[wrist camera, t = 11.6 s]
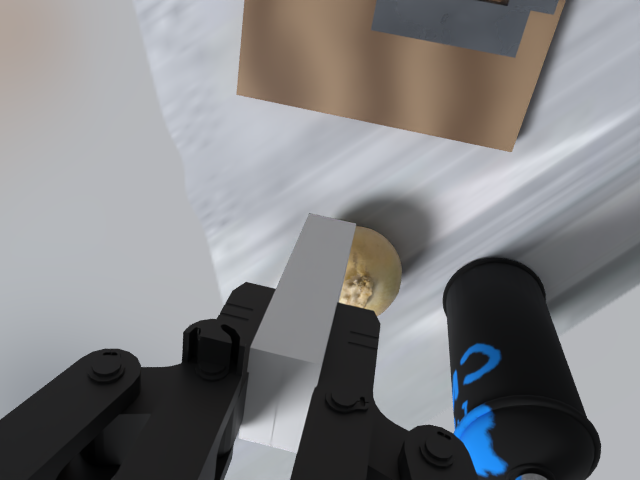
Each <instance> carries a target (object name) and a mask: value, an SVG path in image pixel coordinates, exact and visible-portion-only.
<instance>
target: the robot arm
mask: <svg viewBox="0 0 640 480" xmlns="http://www.w3.org/2000/svg"><path fill="white" fill-rule="evenodd" d="M355 228H356V223H351V222H347V221H342V220H338V219H333V218H329V217H324V216H320V215H315V214H311V213H309V215H308V218H307V220H306V222H305V224H304V227H303V229H302V231H301V233H300V236H299V238H298V240H297V242H296V245H295V247H294V249H293V252H292V254H291V256H290V258H289V261H288V263H287V265H286V267H285V270H284V272H283V274H282V276H281V279H280V281H279V283H278V286H277V288H276V289H274V288H269V287H265V286H261V285H257V284H252V283H248V282H245V283H244V284H242V285H241V286H239V287H238V288H236V289H235V290H233V291H232V293H231V295H230V296H229V298H228V300H227V302H226V304H225V305H224V307H223V309H222V310H221V313H220V315H219V316H218V318H217V319H208V320H201V321H199V322H196V323H194V324H192V325H190V326H189V327H188V328H187V329H186V330H185V331H184V332H183V354H182V363H181V364H178V365H174V366H169V367H141V365H140V363H139V361H138V358H137V357H135V356H134V355H133V354H131V353H130V352H127V351H124V350H120V349H102V350H98V351H94V352H92V353H90V354H88V355H86V356H84V357H82V358H81V359H79V360H78V361H77V362H75V363H74V364H73V365H72V366H70V367H69V368H68V369H66V370H65V371H64V372H62V373H61V374H60V375H58V376H57V377H56V378H54V379H53V380H52V381H51V382H49V383H48V384H47V385H45V386H44V387H43V388H41V389H40V390H39V391H37V392H36V393H35V394H33V395H32V396H31V397H30V398H28V399H27V400H26V401H24V402H23V403H22V404H20V405H19V406H18V407H16V408H15V409H14V410H13V411H11V412H10V413H8V414H7V415H6V416H5V417H3V418H2V419H1V420H0V480H224V478H225V475H226V473H227V470H228V467H229V465H230V462H231V459H232V453H233V445H234V441H235V439H236V436H237V433H238V431H239V428H240V432H239V438H240V439H244V440H248V441H252V442H255V443H259V444H263V445H267V446H271V447H275V448H279V449H283V450H287V451H291V452H294V453H297V455H296V459H295V463H294V467H293V471H292V475H291V479H290V480H479V478H478V476H477V473H476V470H475V467H474V465H473V462H472V459H471V456H470V454H469V452H468V450H467V448H466V447H465V445H464V443H463V442H462V441H461V440H460V439H459V438H458V437H456V436H455V435H454V434H453V433H451V432H449V431H447V430H445V429H443V428H442V427H437V426H433V425H422V426H417V427H415V428H414V429H412V430H410V431H408V430H406V429H404V428H402V427H400V426H398V425H396V424H395V423H393V422H392V421H390V420H389V419H387V418H386V417H385V416H384V415H383V414H382V413H381V412H380V410H379V409H378V407H377V406H376V404H375V401H374V398H373V385H374V376H375V367H376V359H377V349H378V341H379V340H378V339H379V332H380V322H379V320H378V318H377V316H376V314H375V312H374V311H373V310H369V309H364V308H360V307H356V306H352V305H347V304H343V303H339V300H340V296H341V291H342V287H343V282H344V277H345V273H346V268H347V264H348V259H349V255H350V250H351V246H352V241H353V237H354V232H355Z"/></svg>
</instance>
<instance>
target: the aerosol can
mask: <svg viewBox="0 0 640 480" xmlns="http://www.w3.org/2000/svg"><path fill="white" fill-rule="evenodd" d="M443 308H444V311H445V314H446V316H447V324H448V338H449V353H450V367H451V381H452V395H453V409H454V424H455V431H454V433H453V434H454V435H455V436H456V437H458V438H459V439H460V440H461V441H462V442H463V443H464V445H465V447H466V448H467V450H468V452H469V454H470V456H471V459H472V462H473V465H474V467H475V470H476V473H477V476H478V478H479V480H586V479H587V478H588V477H589V476H590V475H591V474H592V472H593V471H594V469H595V468H596V467H597V464H598V462H599V459H600V454H601V443H600V439H599V435H598V433H597V431H596V429H595V427H594V426H593V424H592V423H591V422H590V421H589V420H588V419H587V416H586V414H585V411H584V408H583V405H582V402H581V400H580V397H579V394H578V391H577V388H576V386H575V383H574V380H573V377H572V375H571V372H570V369H569V366H568V364H567V361H566V358H565V355H564V353H563V350H562V347H561V344H560V341H559V338H558V336H557V333H556V330H555V327H554V324H553V322H552V319H551V316H550V313H549V311H548V308H547V305H546V294H545V290H544V286H543V284H542V282H541V281H540V279H539V277H538V276H537V275H536V274H535V273H534V272H533V271H532V270H531V269H529V268H528V267H526V266H525V265H523V264H521V263H519V262H516V261H513V260H509V259H503V258H488V259H482V260H478V261H475V262H472V263H470V264H468V265H466V266H464V267H463V268H461V269H460V270H458V271H457V272H456V273H455V274H454V275H453V276H452V277H451V279H450V280H449V282H448V283H447V285H446V288H445V290H444V294H443Z"/></svg>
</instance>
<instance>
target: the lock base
mask: <svg viewBox="0 0 640 480" xmlns="http://www.w3.org/2000/svg"><path fill="white" fill-rule="evenodd" d="M376 1H377V0H245V1H244V13H243V25H242V37H241V48H240V60H239V72H238V84H237V95H241V96H246V97H251V98H255V99H260V100H265V101H270V102H275V103H279V104H284V105H289V106H294V107H298V108H303V109H308V110H313V111H318V112H322V113H327V114H332V115H337V116H341V117H346V118H351V119H356V120H360V121H365V122H370V123H375V124H380V125H384V126H389V127H394V128H399V129H403V130H408V131H413V132H418V133H422V134H427V135H432V136H437V137H442V138H446V139H451V140H456V141H461V142H465V143H470V144H475V145H480V146H485V147H489V148H494V149H499V150H504V151H508V152H512V150H513V147H514V144H515V142H516V139H517V136H518V133H519V130H520V128H521V125H522V122H523V119H524V116H525V113H526V111H527V108H528V105H529V102H530V99H531V97H532V94H533V91H534V88H535V85H536V83H537V80H538V77H539V74H540V71H541V69H542V66H543V63H544V60H545V57H546V55H547V52H548V49H549V46H550V43H551V41H552V38H553V35H554V32H555V29H556V27H557V24H558V21H559V18H560V15H561V13H562V10H563V7H564V4H565V1H566V0H559V1H558V4H557V7H556V10H555V13H554V15H552V14H546V13H541V12H536V11H530V14H529V17H528V20H527V23H526V27H525V30H524V33H523V36H522V39H521V42H520V45H519V48H518V51H517V54H516V57H515V58H513V57H508V56H503V55H498V54H493V53H487V52H482V51H477V50H472V49H467V48H461V47H456V46H451V45H446V44H440V43H435V42H430V41H425V40H420V39H414V38H409V37H404V36H399V35H394V34H388V33H383V32H378V31H373V30H371V27H372V21H373V16H374V11H375V6H376ZM491 1H497V2H501V0H491Z"/></svg>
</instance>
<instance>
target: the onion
mask: <svg viewBox="0 0 640 480" xmlns="http://www.w3.org/2000/svg"><path fill="white" fill-rule="evenodd" d="M401 275H402V267H401V262H400V258H399V256H398V254H397V252H396V250H395V248H394V247H393V245H392V244H391V243H390V242H389V241H388V240H387V239H386V238H385V237H384V236H383V235H381V234H380V233H378V232H376V231H374V230H372V229H369V228H366V227H360V226H356V228H355V232H354V237H353V241H352V246H351V250H350V255H349V259H348V264H347V268H346V273H345V277H344V282H343V287H342V291H341V296H340V300H339V303H343V304H347V305H352V306H356V307H360V308H364V309H369V310H373V311H374V312H375V314H376V316H379V315H380V314H381V313H383V312H384V311H385V310H386V309H387V308H388V307H389V306H390V305H391V303H392V302H393V301H394V299H395V298H396V296H397V294H398V292H399V289H400V284H401Z"/></svg>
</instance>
